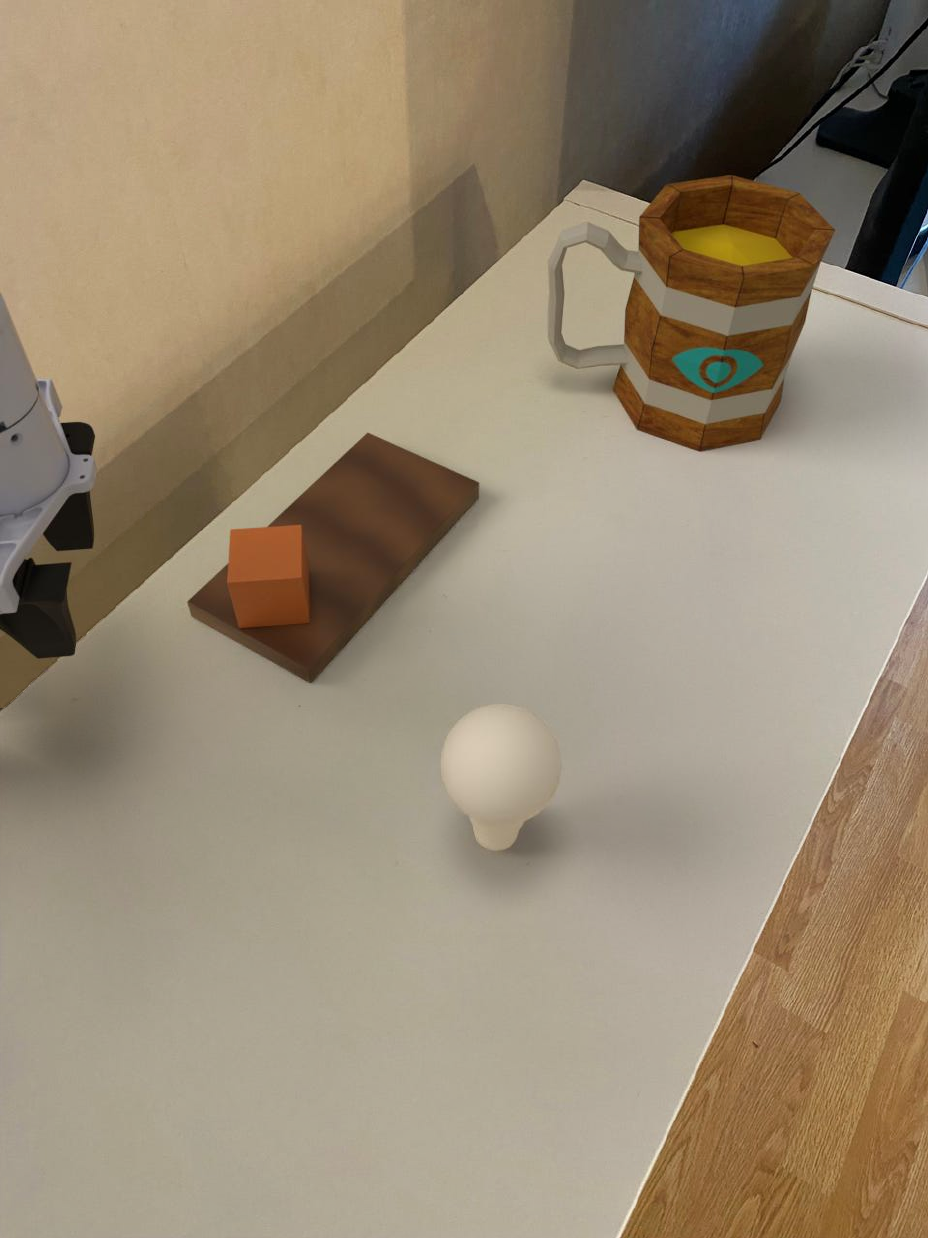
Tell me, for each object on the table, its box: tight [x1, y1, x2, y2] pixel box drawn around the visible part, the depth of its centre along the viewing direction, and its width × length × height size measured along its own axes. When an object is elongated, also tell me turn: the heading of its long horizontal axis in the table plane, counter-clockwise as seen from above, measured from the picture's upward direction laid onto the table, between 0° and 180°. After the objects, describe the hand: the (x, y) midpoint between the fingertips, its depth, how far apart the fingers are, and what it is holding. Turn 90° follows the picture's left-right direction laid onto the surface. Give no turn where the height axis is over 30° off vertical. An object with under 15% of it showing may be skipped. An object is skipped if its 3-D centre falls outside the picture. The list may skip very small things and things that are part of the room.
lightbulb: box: [440, 703, 563, 852], centre depth 53 cm, size 6×6×11 cm
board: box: [186, 432, 480, 684], centre depth 70 cm, size 20×10×2 cm, turn 147°
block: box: [227, 525, 310, 628], centre depth 65 cm, size 4×4×4 cm
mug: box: [547, 174, 836, 452], centre depth 77 cm, size 20×14×15 cm
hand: (66, 596), depth 56 cm, fingers open, 7 cm apart
